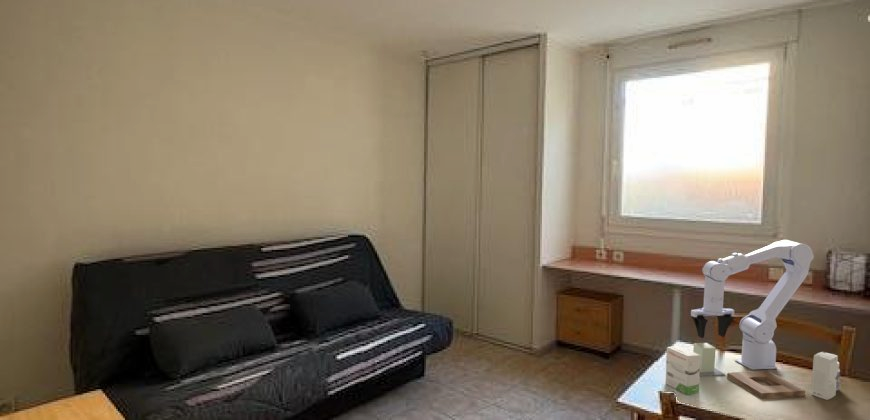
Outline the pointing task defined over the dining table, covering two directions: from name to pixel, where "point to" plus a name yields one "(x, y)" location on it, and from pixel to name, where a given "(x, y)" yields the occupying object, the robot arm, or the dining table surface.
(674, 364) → the ink box
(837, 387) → the pill bottle
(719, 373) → the rubber pad
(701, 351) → the sage block
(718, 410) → the dining table surface
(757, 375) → the pocket block
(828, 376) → the skincare box
